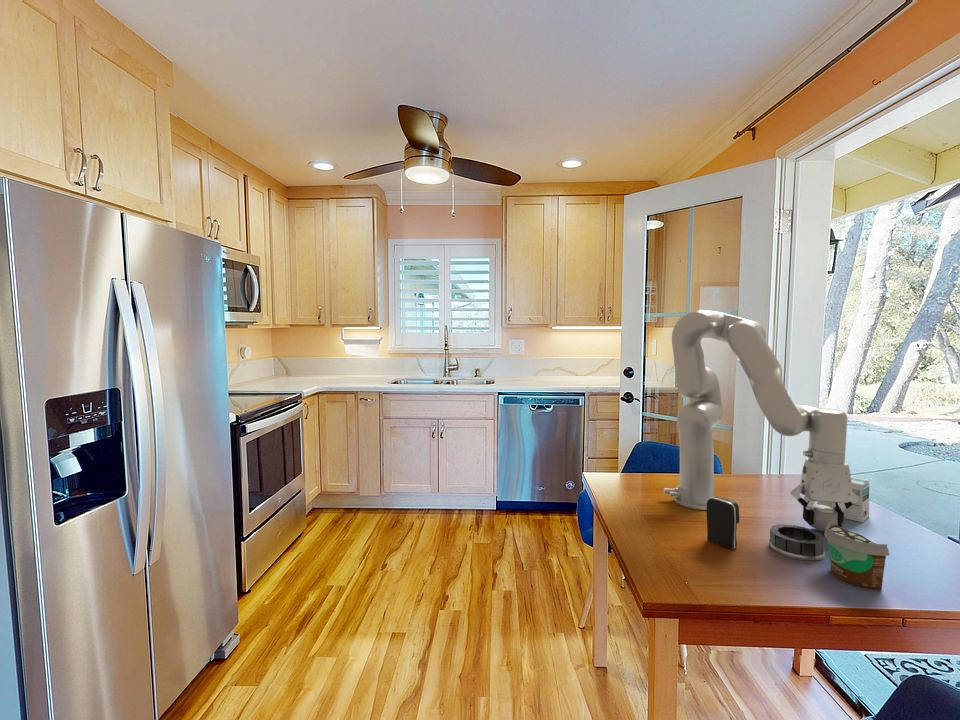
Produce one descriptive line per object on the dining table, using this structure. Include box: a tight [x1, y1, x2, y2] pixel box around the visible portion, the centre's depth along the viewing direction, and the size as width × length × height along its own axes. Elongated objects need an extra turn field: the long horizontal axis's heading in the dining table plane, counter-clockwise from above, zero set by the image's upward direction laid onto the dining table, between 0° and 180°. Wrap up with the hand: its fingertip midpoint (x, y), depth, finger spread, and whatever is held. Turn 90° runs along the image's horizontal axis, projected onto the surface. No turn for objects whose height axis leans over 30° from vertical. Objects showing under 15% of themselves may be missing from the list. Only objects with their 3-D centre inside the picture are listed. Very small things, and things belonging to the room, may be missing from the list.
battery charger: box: [706, 496, 740, 550], centre depth 112 cm, size 7×4×11 cm, turn 33°
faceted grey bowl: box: [769, 523, 826, 562], centre depth 108 cm, size 11×11×4 cm
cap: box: [809, 504, 838, 532], centre depth 117 cm, size 6×6×5 cm
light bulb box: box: [816, 476, 870, 523], centre depth 128 cm, size 11×7×11 cm, turn 37°
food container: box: [823, 521, 890, 591], centre depth 95 cm, size 12×6×10 cm, turn 5°
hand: (822, 523), depth 117 cm, fingers closed on cap, 5 cm apart
